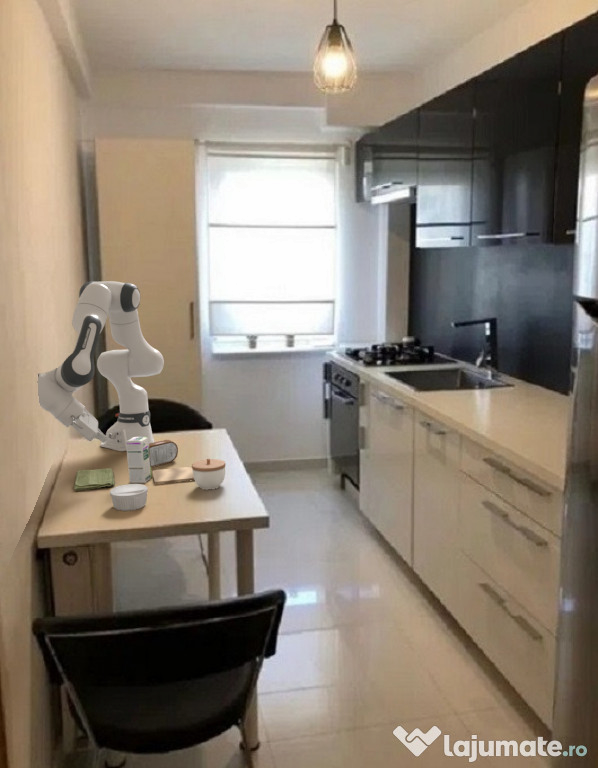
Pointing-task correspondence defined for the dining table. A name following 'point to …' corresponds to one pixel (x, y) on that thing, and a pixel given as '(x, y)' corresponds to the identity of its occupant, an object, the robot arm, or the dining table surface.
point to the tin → (162, 452)
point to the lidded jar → (209, 473)
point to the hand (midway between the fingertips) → (105, 440)
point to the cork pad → (172, 475)
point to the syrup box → (139, 459)
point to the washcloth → (94, 479)
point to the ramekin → (129, 497)
